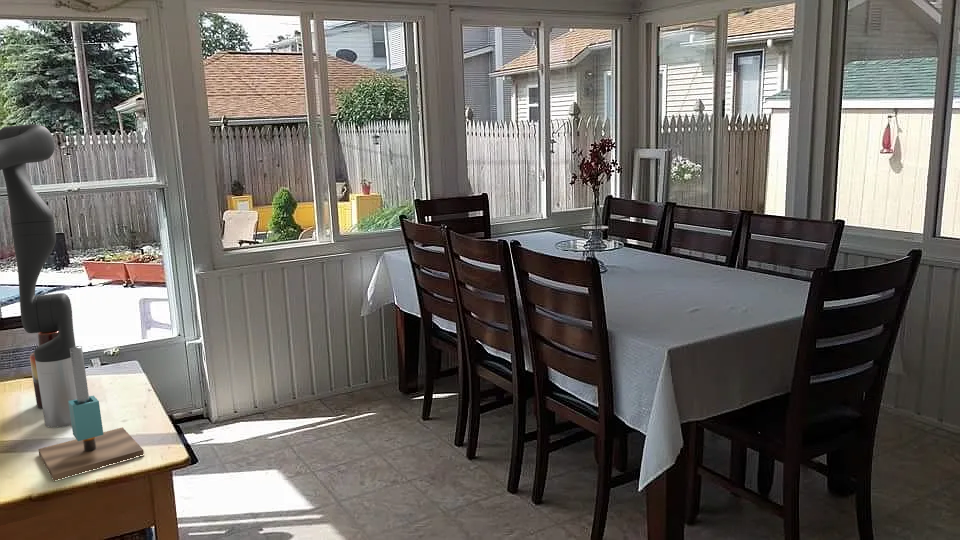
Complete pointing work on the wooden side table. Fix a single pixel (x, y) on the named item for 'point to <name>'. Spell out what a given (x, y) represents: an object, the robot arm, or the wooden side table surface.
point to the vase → (42, 338)
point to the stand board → (89, 454)
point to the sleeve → (86, 419)
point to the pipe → (81, 387)
